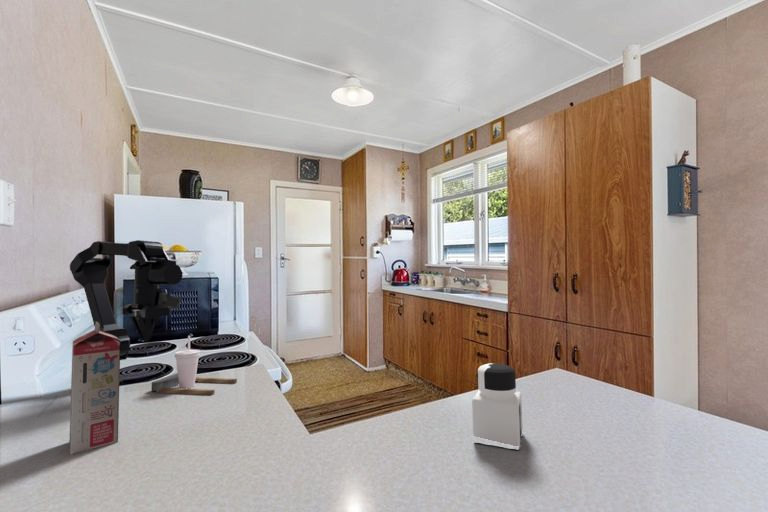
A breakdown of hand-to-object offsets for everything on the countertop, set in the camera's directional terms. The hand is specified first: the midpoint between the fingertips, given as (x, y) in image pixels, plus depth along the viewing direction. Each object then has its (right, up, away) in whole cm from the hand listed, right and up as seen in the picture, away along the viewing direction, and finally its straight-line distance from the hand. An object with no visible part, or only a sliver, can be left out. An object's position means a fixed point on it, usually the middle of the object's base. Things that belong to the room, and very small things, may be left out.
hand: (145, 341), depth 100 cm
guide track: (+14, -13, 0) cm, 19 cm away
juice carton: (+13, -11, -33) cm, 37 cm away
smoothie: (+12, -13, 0) cm, 17 cm away
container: (+88, -10, -35) cm, 95 cm away
